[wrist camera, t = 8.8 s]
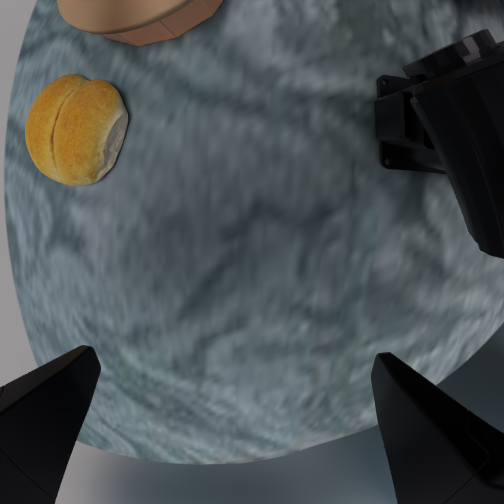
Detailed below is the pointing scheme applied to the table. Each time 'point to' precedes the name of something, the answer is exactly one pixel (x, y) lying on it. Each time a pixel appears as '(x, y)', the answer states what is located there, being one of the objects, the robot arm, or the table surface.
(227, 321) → the table surface
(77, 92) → the bread roll
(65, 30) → the table surface
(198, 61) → the table surface
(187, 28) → the bowl
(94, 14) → the lid
